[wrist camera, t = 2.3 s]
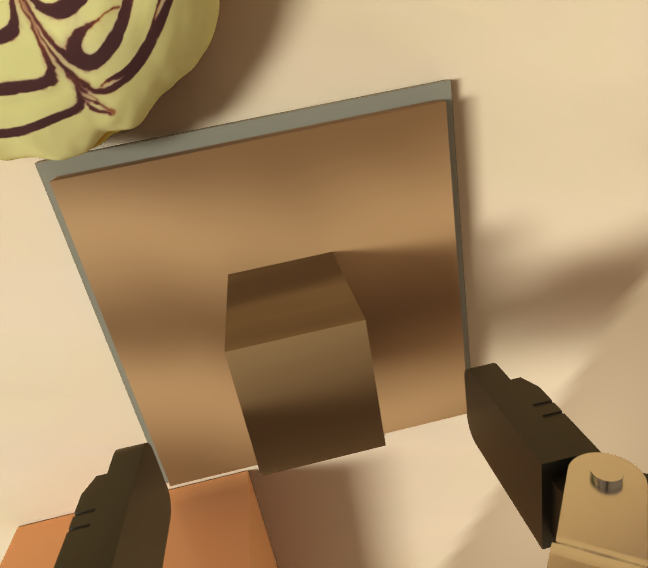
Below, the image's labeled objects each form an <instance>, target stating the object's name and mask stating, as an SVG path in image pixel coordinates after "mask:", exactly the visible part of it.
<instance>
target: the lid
mask: <svg viewBox="0 0 648 568" xmlns="http://www.w3.org/2000/svg"><path fill="white" fill-rule="evenodd" d="M50 185H51V187H52V190H53V192H54V195H55V197H56V200H57V202H58V205H59V207H60V210H61V212H62V215H63V217H64V220H65V222H66V225H67V227H68V230H69V232H70V235H71V237H72V240H73V242H74V245H75V247H76V250H77V252H78V255H79V257H80V260H81V262H82V265H83V267H84V270H85V273H86V275H87V278H88V280H89V283H90V285H91V288H92V290H93V293H94V295H95V298H96V300H97V303H98V305H99V308H100V310H101V313H102V315H103V318H104V320H105V323H106V325H107V328H108V330H109V333H110V335H111V338H112V340H113V343H114V345H115V348H116V350H117V353H118V355H119V358H120V360H121V363H122V365H123V368H124V371H125V373H126V376H127V378H128V381H129V383H130V386H131V388H132V391H133V393H134V396H135V398H136V401H137V403H138V406H139V408H140V411H141V413H142V416H143V418H144V421H145V423H146V426H147V428H148V431H149V433H150V436H151V438H152V441H153V443H154V446H155V448H156V451H157V453H158V456H159V458H160V461H161V463H162V466H163V468H164V471H165V474H166V476H167V479H168V481H169V484H170V486H173V485H177V484H181V483H185V482H189V481H193V480H197V479H201V478H205V477H209V476H214V475H218V474H222V473H226V472H230V471H234V470H238V469H242V468H246V467H250V466H254V465H258V467H259V470H260V474H261V476H264V475H268V474H272V473H276V472H280V471H284V470H288V469H292V468H296V467H300V466H304V465H308V464H312V463H316V462H320V461H324V460H328V459H333V458H337V457H341V456H345V455H349V454H353V453H357V452H361V451H365V450H369V449H373V448H377V447H381V446H385V445H386V444H385V438H384V434H385V433H389V432H393V431H397V430H401V429H405V428H409V427H413V426H418V425H422V424H426V423H430V422H434V421H438V420H442V419H446V418H450V417H454V416H458V415H462V414H466V413H467V406H466V393H465V380H464V373H465V358H464V344H463V331H462V317H461V303H460V289H459V276H458V262H457V248H456V234H455V220H454V207H453V193H452V179H451V165H450V152H449V138H448V124H447V110H446V101H442V100H432V101H427V102H422V103H417V104H412V105H407V106H402V107H398V108H393V109H388V110H383V111H378V112H373V113H368V114H363V115H358V116H353V117H348V118H343V119H338V120H333V121H328V122H323V123H318V124H313V125H308V126H304V127H299V128H294V129H289V130H284V131H279V132H274V133H269V134H264V135H259V136H254V137H249V138H244V139H239V140H234V141H229V142H224V143H219V144H215V145H210V146H205V147H200V148H195V149H190V150H185V151H180V152H175V153H170V154H165V155H160V156H155V157H150V158H145V159H140V160H135V161H130V162H125V163H121V164H116V165H111V166H106V167H101V168H96V169H91V170H86V171H81V172H76V173H71V174H66V175H61V176H57V177H56V178H54V179H53V180H51V181H50Z"/></svg>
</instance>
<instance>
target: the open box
mask: <svg viewBox="0 0 648 568" xmlns="http://www.w3.org/2000/svg"><path fill="white" fill-rule="evenodd" d="M169 494H170V500H171V519H170V525H169V531H168V537H167V543H166V550H165V556H164V562H163V568H278V567H277V563H276V560H275V557H274V554H273V550H272V547H271V544H270V541H269V538H268V534H267V531H266V528H265V525H264V521H263V518H262V515H261V512H260V509H259V505H258V502H257V499H256V496H255V492H254V489H253V486H252V483H251V479H250V476H249V473H248V471H245V472H241V473H237V474H233V475H229V476H225V477H220V478H216V479H212V480H208V481H204V482H200V483H196V484H192V485H188V486H184V487H180V488H176V489H172V490H169ZM74 516H75V513H74V514H70V515H66V516H62V517H58V518H53V519H49V520H45V521H41V522H37V523H33V524H29V525H25V526H21V527H18V528H17V531H16V533H15V535H14V537H13V539H12V541H11V543H10V545H9V548H8V550H7V552H6V554H5V556H4V558H3V560H2V562H1V565H0V568H54V565H55V563H56V560H57V557H58V555H59V552H60V550H61V547H62V544H63V542H64V539H65V537H66V534H67V532H69V526H70V523H71V521H72V518H73V517H74Z"/></svg>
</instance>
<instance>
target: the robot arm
mask: <svg viewBox="0 0 648 568" xmlns="http://www.w3.org/2000/svg"><path fill="white" fill-rule="evenodd" d="M464 380H465V393H466V406H467V418H468V424H469V428H470V431H471V434H472V437H473V439H474V441H475V443H476V445H477V446H478V448H479V450H480V451H481V453H482V454H483V456H484V457H485V459H486V461H487V462H488V464H489V465H490V467H491V469H492V470H493V472H494V473H495V475H496V477H497V478H498V480H499V481H500V483H501V484H502V486H503V488H504V489H505V491H506V492H507V494H508V496H509V497H510V499H511V500H512V502H513V504H514V505H515V507H516V508H517V510H518V511H519V513H520V515H521V516H522V518H523V519H524V521H525V523H526V524H527V526H528V527H529V529H530V530H531V532H532V534H533V535H534V537H535V538H536V540H537V541H538V543H539V545H540V546H541V548H542V549H546V548H549V547H551V548H550V553H549V559H548V565H547V568H648V474H645V473H642V471H641V470H640V469H639V468H638V467H637V466H635V465H634V464H633V463H631V462H630V461H628V460H626V459H624V458H622V457H619V456H616V455H612V454H608V453H601V452H600V451H599V450H598V449H597V448H596V447H595V445H594V444H593V443H592V442H591V441H590V440H589V439H588V438H587V437H586V436H585V435H584V434H583V433H582V432H581V431H580V430H579V428H577V426H576V425H575V424H574V423H573V422H572V421H571V420H570V419H569V418H568V417H567V416H566V415H565V414H563V413H562V411H561V409H560V408H559V407H558V406H557V405H556V404H555V403H552V400H551V399H550V398H549V397H548V396H547V395H546V394H545V393H544V391H543V390H542V389H541V388H540V387H538V386H536V385H534V384H533V383H531V382H529V381H527V380H525V379H523V378H521V377H520V378H516V379H512V380H510V379H509V378H508V376H507V375H506V374H505V373H504V372H503V371H502V370H501V368H500V367H499V366H498V365H497V364H495V363H491V364H487V365H483V366H478V367H474V368H470V369H466V370H465V373H464ZM170 519H171V500H170V494H169V490H168V488H167V485H166V482H165V480H164V477H163V474H162V472H161V469H160V467H159V464H158V461H157V459H156V456H155V453H154V451H153V448H152V446H151V445H150V444H149V443H144V444H139V445H135V446H131V447H126V448H122V449H118V450H116V451H115V453H114V455H113V458H112V461H111V464H110V467H109V470H108V473H107V474H104V475H100V476H96V477H95V479H94V480H93V481H92V482H91V484H90V485H89V486H88V487H87V488H86V490H85V491H84V492H83V493H82V495H81V497H80V500H79V503H78V505H77V508H76V510H75V516H74V517H73V518H72V521H71V523H70V526H69V532H67V534H66V537H65V539H64V542H63V544H62V547H61V550H60V552H59V555H58V557H57V560H56V563H55V565H54V568H163V562H164V556H165V550H166V543H167V537H168V531H169V525H170Z"/></svg>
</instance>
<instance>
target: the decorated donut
mask: <svg viewBox="0 0 648 568" xmlns="http://www.w3.org/2000/svg"><path fill="white" fill-rule="evenodd" d="M219 3H220V0H0V160H5V161H8V160H14V159H18V158H28V157H39V158H45V159H50V160H65V159H68V158H72V157H75V156H79V155H82V154H84V153H86V152H88V151H89V150H90V149H92V148H94V147H97V146H99V145H100V144H102V143H103V142H105V141H106V140H107V139H108V138H109V137H110V136H111V135H112V134H116V133H118V132H120V131H121V130H128V129H133V128H135V127H137V126H139V125H140V124H141V123H142V121H143V120H144V119H145V118H146V116H147V115H148V113H149V111H150V110H151V108H152V107H153V105H154V104H155V103H156V101H157V100H158V99H159V97H160V96H161V95H163V94H164V93H165V92H166V91H168V90H169V89H170V88H171V87H173V86H174V85H175V84H176V82H177V81H178V80H179V79H181V78H182V77H183V76H185V75H186V74H187V73H189V72H190V71H191V70H192V69H193V68H194V67H195V66H196V65H197V63H198V62H199V60H200V58H201V57H202V55H203V54H204V52H205V51H206V50H207V48H208V46H209V44H210V42H211V40H212V37H213V35H214V32H215V28H216V24H217V20H218V15H219Z"/></svg>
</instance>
